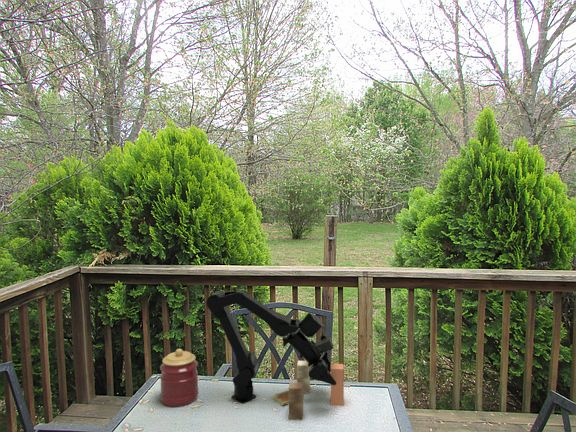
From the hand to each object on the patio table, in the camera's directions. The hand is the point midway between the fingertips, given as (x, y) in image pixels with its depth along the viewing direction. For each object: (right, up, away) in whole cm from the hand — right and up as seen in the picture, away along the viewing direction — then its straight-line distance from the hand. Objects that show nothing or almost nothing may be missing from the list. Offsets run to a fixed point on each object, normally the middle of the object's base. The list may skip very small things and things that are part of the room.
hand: (335, 378), depth 135 cm
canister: (-55, -9, +4) cm, 56 cm away
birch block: (-11, -8, +9) cm, 16 cm away
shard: (-18, -9, +4) cm, 20 cm away
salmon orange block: (+1, -8, 0) cm, 8 cm away
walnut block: (-14, -9, -9) cm, 18 cm away
